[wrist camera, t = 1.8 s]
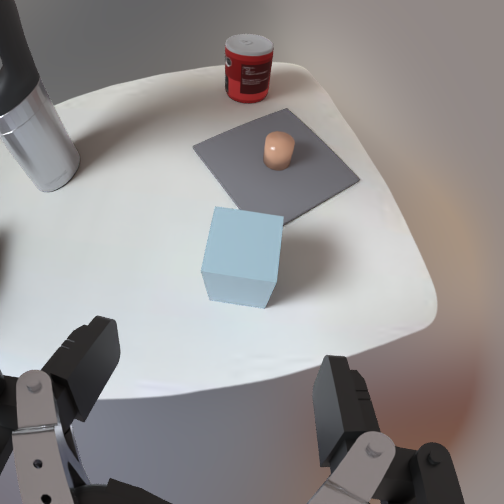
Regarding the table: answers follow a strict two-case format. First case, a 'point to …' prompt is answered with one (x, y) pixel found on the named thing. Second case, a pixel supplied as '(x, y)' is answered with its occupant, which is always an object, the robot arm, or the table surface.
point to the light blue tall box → (242, 257)
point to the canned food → (248, 67)
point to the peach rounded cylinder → (278, 150)
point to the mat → (273, 181)
